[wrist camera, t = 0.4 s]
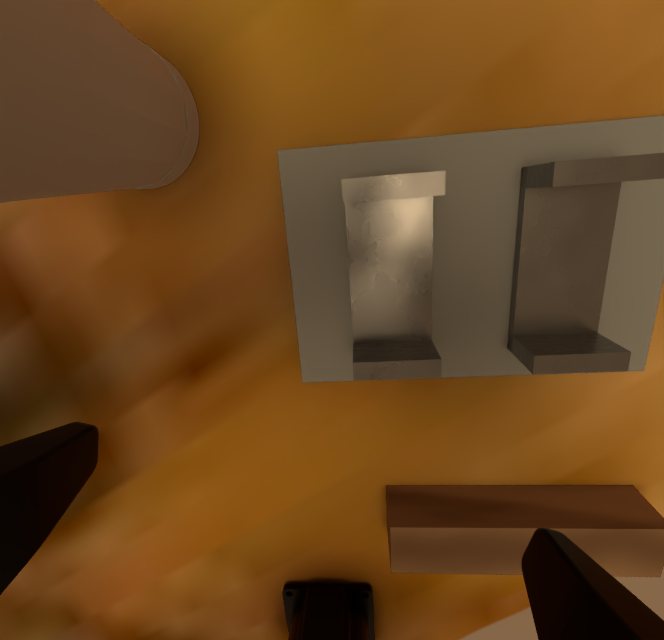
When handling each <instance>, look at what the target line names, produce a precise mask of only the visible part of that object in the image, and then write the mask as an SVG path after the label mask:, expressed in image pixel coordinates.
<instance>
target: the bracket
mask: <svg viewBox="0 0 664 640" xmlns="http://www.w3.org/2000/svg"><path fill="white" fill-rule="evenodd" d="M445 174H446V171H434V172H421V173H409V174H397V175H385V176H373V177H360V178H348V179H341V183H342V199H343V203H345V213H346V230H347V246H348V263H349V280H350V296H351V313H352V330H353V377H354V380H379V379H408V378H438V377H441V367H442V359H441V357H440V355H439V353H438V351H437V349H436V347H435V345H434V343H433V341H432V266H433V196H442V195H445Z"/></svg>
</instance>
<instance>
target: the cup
mask: <svg viewBox="0 0 664 640" xmlns="http://www.w3.org/2000/svg"><path fill="white" fill-rule="evenodd" d="M198 140H199V117H198V111H197V107H196V103H195V100H194V97H193V95H192V93H191V90H190V88H189V86H188V85H187V83H186V81H185V80H184V78H183V77H182V75H181V74H180V73H179V72H178V70H177V69H176V68H175V67H174V66H173V65H172V64H171V63H170V62H169V61H168V60H166V59H165V58H164V57H162V56H161V55H160V54H158V53H157V52H155V51H154V50H153V49H151V48H150V47H148V46H147V45H145V44H144V43H142V42H141V41H140V40H139V39H137V38H136V37H135V36H134V35H133V34H132V33H131V32H130V31H128V30H127V29H126V28H125V27H124V26H123V25H122V24H121V23H119V22H118V21H117V20H116V19H115V18H114V17H113V16H112V15H110V14H109V13H108V12H107V11H106V10H105V9H104V8H103V7H101V6H100V5H99V4H98V3H97V2H96V1H95V0H0V203H4V202H9V201H18V200H28V199H38V198H47V197H57V196H67V195H76V194H86V193H96V192H106V191H115V190H125V189H156V188H160V187H163V186H166V185H168V184H170V183H172V182H173V181H175V180H176V179H178V178H179V177H180V176H181V175H182V174H183V173H184V172H185V171H186V169H187V168H188V166H189V165H190V163H191V161H192V159H193V157H194V155H195V152H196V149H197V145H198Z"/></svg>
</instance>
